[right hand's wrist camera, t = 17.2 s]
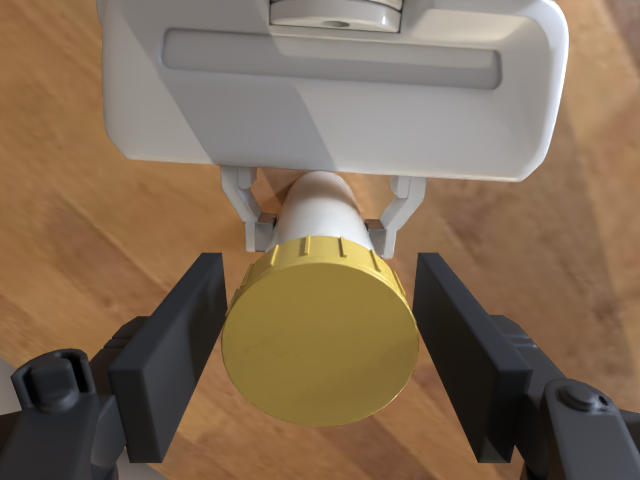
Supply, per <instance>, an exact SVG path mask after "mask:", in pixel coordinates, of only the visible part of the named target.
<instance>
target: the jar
mask: <svg viewBox="0 0 640 480" xmlns="http://www.w3.org/2000/svg"><path fill="white" fill-rule="evenodd" d="M306 235H310V236H319V235H320V236H333V237H339V238H340V236H343V237H344V239H347V240H350V241H353V242H355V243H358V244H360V245H362V246H364V247H366V248H367V249H369V250H371V249H373V250H374V247H373V245H372V242H371V240H370V237H369V234H368V232H367V229H366V227H365V224H364V222H363V219H362V216H361V214H360V211H359V209H358V206H357V203H356V201H355V198H354V196H353V193H352V191H351V189H350V187H349V186H348V184H347V183H346V182H345V181H344V180H343V179H342V178H340V177H339V176H337V175H335V174H333V173H330V172H325V171H314V172H310V173H307V174H305V175H303V176H301V177H300V178H298V179H297V180H296V181H295V182H294V183H293V184H292V186H291V187H290V189H289V191H288V193H287V196H286V198H285V201H284V203H283V206H282V209H281V211H280V214H279V216H278V219H277V221H276V224H275V227H274V229H273V232H272V234H271V237H270V240H269V242H268V245H267V247H266V250H265V253H266V252H268V251H270V250H271V249H273V248H274V245H276V244H277V245H280V244H282V243H284V242H287V241H290V240H293V239H296V238H301V237H306ZM374 252H375V250H374ZM265 253H264V254H265ZM375 254H376V253H375Z"/></svg>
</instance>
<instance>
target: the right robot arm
mask: <svg viewBox="0 0 640 480" xmlns="http://www.w3.org/2000/svg"><path fill="white" fill-rule="evenodd" d="M226 311H227V299H226V289H225V279H224V269H223V260H222V253H202V254H201V255H200V256H199V257H198V258H197V260H196V261H195V262H194V263H193V265H192V266H191V267H190V268H189V269H188V271H187V272H186V273H185V274H184V276H183V277H182V278H181V279H180V280H179V282H178V283H177V284H176V285H175V287H174V288H173V289H172V290H171V291H170V293H169V294H168V295H167V296H166V298H165V299H164V300H163V301H162V303H161V304H160V305H159V306H158V307H157V309H156V310H155V311H154V312H153V314H152V315H151V316H137V317H136V318H134V319H133V320H131V321H129V322H128V323H126V324H125V325H123V326H122V327H121V328H120V329H119V330H118V331H117V332H116V333H115V334H114V336H113V337H112V339H110V340H109V341H108V342H107V343H106V344H105V345H104V348H103V349H101V350H100V351H99V352H98V353H97V354H96V355H95V356H94V358H93V359H92V360H91V361H90V362H89V361H88V357H87V354H86V353H85V352H83V351H82V350H79V349H72V348H70V349H60V350H56V351H52V352H49V353H45V354H42V355H40V356H38V357H36V358H34V359H32V360H30V361H28V362H27V363H25V364H24V365H22V366H21V367H19V368H18V369H17V370H16V371H15V372H14V373H13V375H12V376H11V380H12V383H13V386H14V388H15V391H16V394H17V397H18V399H19V402H20V405H21V407H22V411H18V412H14V413H9V414H5V415H0V480H118V478H119V475H118V468H117V465H116V461H117V459H118V457H119V456H120V454H121V452H122V451H123V449H124V447H125V445H126V449H127V453H128V457H129V461H130V463H162V461H163V459H164V457H165V454H166V452H167V450H168V448H169V446H170V443H171V441H172V439H173V437H174V434H175V432H176V430H177V428H178V425H179V423H180V421H181V419H182V416H183V414H184V412H185V410H186V407H187V405H188V403H189V401H190V399H191V396H192V394H193V392H194V390H195V387H196V385H197V383H198V381H199V378H200V376H201V374H202V372H203V369H204V367H205V365H206V363H207V360H208V358H209V356H210V354H211V352H212V349H213V347H214V345H215V343H216V340H217V338H218V336H219V334H220V331H221V329H222V327H223V325H224V322H225V320H226V316H225V314H226ZM412 313H413V316H414V318H415V320H416V322H417V327H418V329H419V331H420V334H421V336H422V338H423V340H424V343H425V345H426V347H427V349H428V352H429V354H430V356H431V358H432V360H433V363H434V365H435V367H436V369H437V372H438V374H439V376H440V378H441V381H442V383H443V385H444V387H445V390H446V392H447V394H448V396H449V399H450V401H451V403H452V405H453V407H454V410H455V412H456V414H457V416H458V419H459V421H460V423H461V425H462V428H463V430H464V432H465V434H466V437H467V439H468V441H469V443H470V446H471V448H472V450H473V452H474V454H475V457H476V459H477V461H478V463H510V461H511V457H512V453H513V449H514V445H516V447H517V449H518V450H519V452H520V454H521V456H522V457H523V459H524V465H523V468H522V472H521V476H520V479H519V480H640V414H638V413H634V412H629V411H625V410H621V409H618V408H617V407H616V406H615V404H614V403H613V402H612V400H611V399H610V398H608V397H607V396H606V395H605V394H603V393H602V392H601V391H599V390H597V389H596V388H594V387H592V386H590V385H588V384H586V383H583V382H580V381H576V380H573V379H567V378H566V377H565V375H564V374H563V373H562V372H561V371H560V370H559V369H558V368H557V367H556V366H555V365H554V363H553V362H552V361H551V360H550V359H549V358H548V357H547V356H546V355H545V354H544V353H543V351H542V350H541V349H540V348H537V345H536V344H535V343H534V342H533V341H532V339H531V338H528V335H527V334H526V333H525V332H524V331H523V330H522V329H521V327H520V326H519V325H518V324H516V323H514V322H513V321H511V320H510V319H508V318H506V317H505V316H503V315H488V314H487V312H486V311H485V310H484V309H483V307H482V306H481V305H480V304H479V303H478V301H477V300H476V299H475V298H474V296H473V295H472V294H471V293H470V291H469V290H468V289H467V288H466V287H465V285H464V284H463V283H462V282H461V280H460V279H459V278H458V277H457V276H456V274H455V273H454V272H453V271H452V269H451V268H450V267H449V266H448V265H447V263H446V262H445V261H444V260H443V258H442V257H441V256H440V255H439V254H438V253H418V260H417V269H416V279H415V289H414V299H413V309H412Z"/></svg>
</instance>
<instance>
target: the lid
mask: <svg viewBox="0 0 640 480" xmlns="http://www.w3.org/2000/svg"><path fill="white" fill-rule="evenodd" d="M404 296H406V294H405V292H404V290H403V288H402V286H401V283H400V281H399V279H398V277H397V275H396V273H395V271H394V270H393V271H391V270H390V268H389V267H388V266H387V265H386V263H385V262H384V261H383V260H382V259H381V258H380V257H378V256H377V255H376V254H375V252H374V250H373V249H371V250H369V249H367V248H366V247H364V246H362V245H360V244H358V243H355V242H353V241H350V240H347V239H344V237H343V236H340V238H339V237H333V236H320V235H319V236H310V235H306V237H301V238H296V239H293V240H290V241H287V242H284V243H282V244H280V245H277V244H276V245H274V248H273V249H271V250H270V251H268V252H266V253H265V254H264V255H263V256H262V257H260V258H259V259H258V260H257V261H256V262H255V263H254V264H252V263H251V264H250V266H249V268H248V270H247V273H246V275H245V277H244V279H243V282H242V284H241V286H240V288H239V289H237V290H236V292H235V294H234V296H233V298H232V301H231V303H230V305H229V307H228V309H227V311H226V314H225V316H226V320H225V323H224V327H223V330H222V339H221V347H222V356H223V361H224V365H225V368H226V370H227V373H228V375H229V377H230V379H231V381H232V382H233V384H234V385H235V387H236V388H237V389H238V391H239V392H240V393H241V394H242V395H243V396H244V397H245V398H246V399H247V400H248V401H249V402H250V403H251V404H253V405H254V406H255V407H257V408H258V409H260V410H261V411H263V412H264V413H266V414H268V415H270V416H272V417H274V418H277V419H280V420H282V421H285V422H289V423H293V424H297V425H303V426H312V427H328V426H337V425H343V424H347V423H351V422H355V421H358V420H360V419H363V418H366V417H368V416H370V415H372V414H374V413H376V412H377V411H379V410H380V409H382V408H383V407H385V406H386V405H387V404H389V403H390V402H391V401H392V400H393V399H394V398H395V397H396V396H397V395H398V394H399V393H400V392H401V391H402V390H403V388H404V387H405V385H406V384H407V382H408V381H409V379H410V377H411V375H412V373H413V370H414V368H415V365H416V362H417V356H418V349H419V339H418V331H417V327H416V325H417V322H416V320H415V318H414V316H413V313H412V311H411V309H410V307H409V304H408V302H407V300H406V298H405V297H404Z"/></svg>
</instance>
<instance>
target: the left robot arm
mask: <svg viewBox="0 0 640 480" xmlns="http://www.w3.org/2000/svg"><path fill="white" fill-rule="evenodd" d="M96 5H97V12H98V17H99V21H100V24H101V26H102V28H103V31H102V98H103V113H104V124H105V130H106V134H107V136H108V138H109V139H110V141H111V142H112V143H113V144H114V145H115V147H116V148H117V149H118V150H119V151H120V152H121V154H122V155H123V156H124V157H126V158H127V159H130V160H143V161H160V162H177V163H194V164H211V165H221V188H222V190H223V191H224V193H225V194H226V196H227V198H228V199H229V201H230V202H231V204H232V206H233V207H234V209H235V210H236V212H237V213H238V215H239V217H240V218H241V220H242V221H245V249H246V251H249V252H265V250H266V247H267V245H268V242H269V240H270V237H271V234H272V232H273V229H274V227H275V224H276V221H277V214H270V213H262V210H261V208H260V207H259V205H258V203H257V201H256V199H255V197H254V196H253V194H252V192H251V190H250V188H249V187H250V186H251V185H252V184H253V183H254V181H255V180H256V179H257V167H263V168H280V169H297V170H314V171H331V172H348V173H365V174H382V175H390V181H389V188H390V189H391V190H392V191H393V192H394V193H395V197H394V198H393V199H392V201H391V202H390V204H389V205H388V206H387V208H386V209H385V211H384V212H383V214H382V215H381V216H380V218H379V219H365V220H364V224H365V227H366V229H367V232H368V234H369V237H370V240H371V242H372V245H373V247H374V250H375V253H376V255H377V256H378V257H380V258H381V259H392V256H393V252H394V245H395V238H396V230H399V229H400V228H401V227H402V226H403V224H404V223H405V222H406V221H407V219H408V218H409V217H410V216H411V215H412V213H413V212H414V211H415V210H416V208H417V207H418V206H419V205H420V204H421V202H422V201H423V200H424V194H425V188H426V182H427V177H433V178H451V179H468V180H485V181H502V182H520V181H522V180H524V179H525V178H526V177H527V176H529V175H530V174H531V173H532V172H533V171H534V170H535V169H536V168H537V167H538V166H539V165H540V164H541V163H542V162H543V160H544V158H545V156H546V154H547V151H548V148H549V145H550V141H551V138H552V134H553V130H554V126H555V122H556V118H557V113H558V109H559V104H560V99H561V94H562V89H563V84H564V77H565V71H566V65H567V57H568V46H569V35H568V27H567V22H566V20H565V17H564V14H563V12H562V11H561V9H560V8H559V6H558V5H557V4H556V3H555V2H554V1H552V0H96Z"/></svg>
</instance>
